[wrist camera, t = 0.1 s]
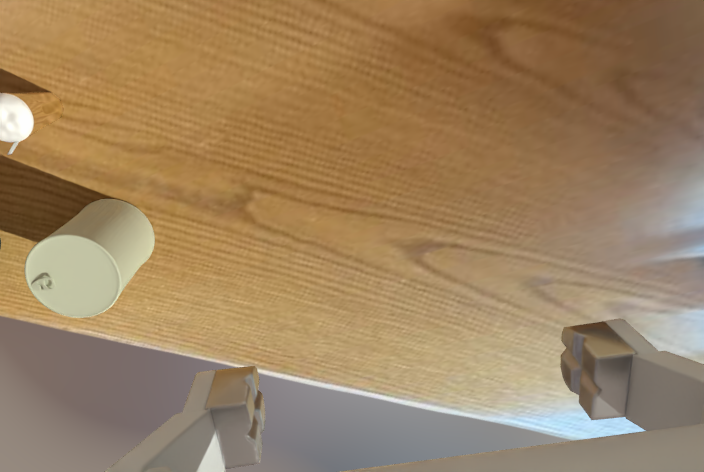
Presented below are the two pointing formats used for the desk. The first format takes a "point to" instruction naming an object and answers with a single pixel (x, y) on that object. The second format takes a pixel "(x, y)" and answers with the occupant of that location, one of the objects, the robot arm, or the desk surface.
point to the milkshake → (26, 114)
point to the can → (90, 258)
